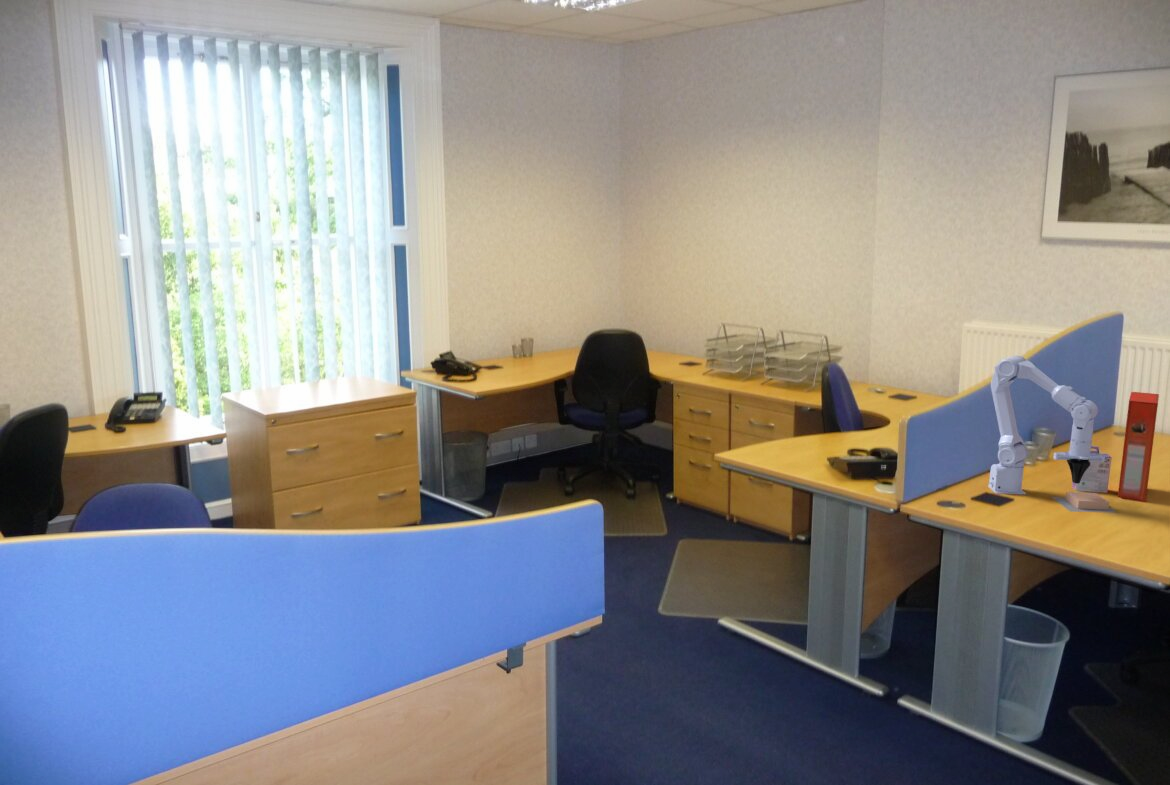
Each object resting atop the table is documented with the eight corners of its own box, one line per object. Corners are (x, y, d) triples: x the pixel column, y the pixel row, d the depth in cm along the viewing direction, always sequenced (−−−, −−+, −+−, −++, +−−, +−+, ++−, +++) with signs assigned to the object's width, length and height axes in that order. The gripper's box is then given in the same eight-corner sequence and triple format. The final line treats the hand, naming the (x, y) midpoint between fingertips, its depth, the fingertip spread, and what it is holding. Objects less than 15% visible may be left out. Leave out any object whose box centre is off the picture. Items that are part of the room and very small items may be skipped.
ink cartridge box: (1102, 488, 307) (1108, 446, 304) (1108, 493, 302) (1113, 450, 299) (1070, 486, 309) (1075, 444, 306) (1075, 491, 304) (1080, 448, 301)
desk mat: (1069, 512, 283) (1070, 511, 283) (1051, 497, 297) (1051, 496, 297) (1117, 513, 282) (1117, 512, 282) (1096, 499, 296) (1096, 498, 296)
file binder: (1116, 497, 298) (1129, 400, 291) (1119, 484, 312) (1131, 391, 306) (1145, 502, 293) (1159, 403, 287) (1147, 488, 308) (1160, 394, 301)
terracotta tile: (1078, 500, 285) (1109, 501, 284) (1066, 492, 294) (1095, 492, 293) (1077, 508, 285) (1108, 509, 285) (1065, 499, 294) (1094, 500, 293)
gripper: (1062, 442, 282) (1057, 485, 285) (1111, 444, 281) (1106, 487, 284) (1052, 437, 289) (1047, 478, 292) (1100, 438, 288) (1095, 480, 291)
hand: (1075, 482), depth 288 cm, fingers closed
